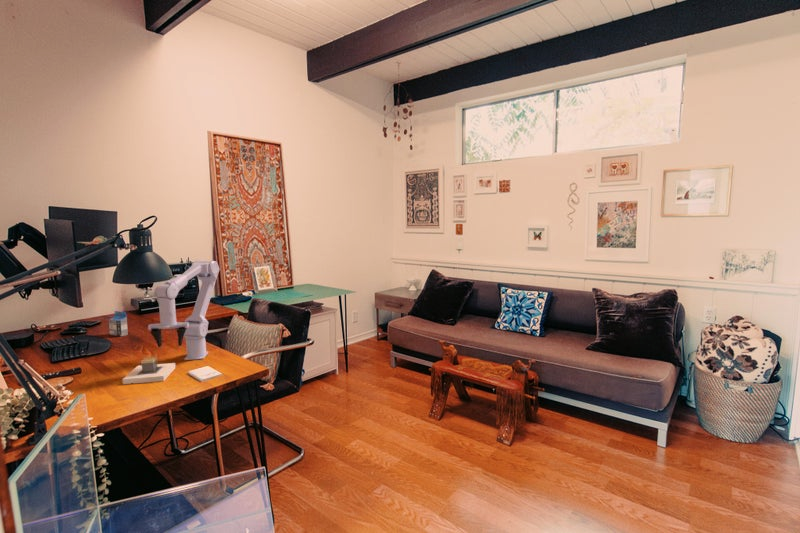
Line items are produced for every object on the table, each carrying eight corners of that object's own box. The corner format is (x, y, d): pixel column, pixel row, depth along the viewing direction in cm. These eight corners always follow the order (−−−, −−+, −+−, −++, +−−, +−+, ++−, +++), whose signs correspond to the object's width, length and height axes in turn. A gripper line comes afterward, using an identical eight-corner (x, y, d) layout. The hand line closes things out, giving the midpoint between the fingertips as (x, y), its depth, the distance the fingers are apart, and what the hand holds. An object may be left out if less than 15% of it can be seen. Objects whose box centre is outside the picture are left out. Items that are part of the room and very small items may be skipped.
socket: (138, 370, 166) (137, 365, 166) (175, 367, 169) (175, 362, 169) (122, 384, 152) (122, 378, 152) (163, 380, 155) (163, 375, 155)
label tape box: (109, 335, 214) (107, 312, 213) (116, 333, 218) (114, 310, 216) (121, 336, 211) (119, 313, 210) (128, 334, 215) (126, 312, 214)
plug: (146, 374, 162) (145, 357, 161) (158, 373, 163) (156, 356, 162) (142, 378, 158) (141, 361, 157) (154, 377, 159) (153, 360, 158)
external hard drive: (208, 369, 169) (222, 377, 161) (187, 375, 163) (201, 383, 155) (208, 365, 169) (222, 373, 161) (187, 371, 162) (201, 379, 154)
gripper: (144, 316, 159) (146, 350, 161) (184, 314, 162) (186, 347, 164) (150, 312, 166) (153, 344, 168) (189, 310, 169) (191, 342, 171)
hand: (170, 345), depth 166 cm, fingers open, 7 cm apart
